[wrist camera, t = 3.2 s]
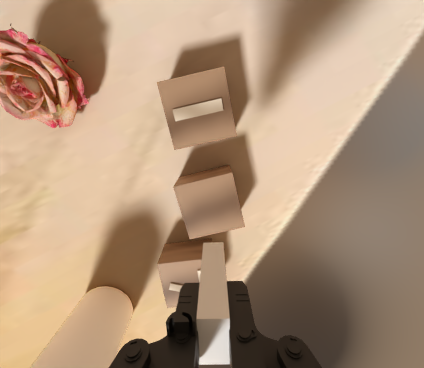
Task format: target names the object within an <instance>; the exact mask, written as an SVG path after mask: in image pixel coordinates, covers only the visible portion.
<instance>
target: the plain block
mask: <svg viewBox="0 0 424 368" xmlns="http://www.w3.org/2000/svg"><path fill="white" fill-rule="evenodd" d="M173 188H174V191H175V194H176V197H177V200H178V203H179V207H180V210H181V213H182V216H183V219H184V223H185V226H186V229H187V232H188V235H189V239H194V238H199V237H203V236H207V235H212V234H216V233H220V232H225V231H229V230H233V229H238V228H242V227H245V225H244V220H243V216H242V212H241V207H240V203H239V199H238V195H237V190H236V186H235V182H234V177H233V173H232V171H231V168H230V166H229V165H226V166H222V167H218V168H214V169H210V170H206V171H202V172H198V173H194V174H190V175H186V176H182V177H179V179H178V180H177V182H176V184H175V185H174V187H173Z"/></svg>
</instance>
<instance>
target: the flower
mask: <svg viewBox="0 0 424 368" xmlns="http://www.w3.org/2000/svg"><path fill="white" fill-rule="evenodd" d="M10 26H11V24H10ZM11 28H12V27H11ZM12 29H13V28H12ZM12 29H9V30H7V31H0V104H1V105H2V107H3V108H4V109H5V110H6V111H7V112H8V113H10V114H11V115H13V116H14V117H16V118H18V119H21V120H28V119H37V120H39V121H41V122H43V123H45V124H47V125H48V126H50V127H52V128H55V127H57V125H59V127H66V126H70V125H71V124H72V122H73V120H74V117H75V115H76V111H77V110H78V108H80V109H81V106H82V105H86V104H88V103H89V102H88V100H89V99H86V96H85V95H84V94H83V93H84V85H83V81H82V79H81V76H80V75H79V74H78V73H76V72H75V71H74V70H72V69H71V68H70V67H68V66H67V62H68V61H72V60H70V59H64V58H62V57H60V55H58V54H57V55H56V54H55V53H54V52H52V51H51V50H49V49H48V48H46V47H45V46H43V45H40V44H39V43H40V41H39V43H38V44H37V43H36V42H35V40H34V39H29V38H28V36H27V35H26V34H24V33H23V32H17V31H16V30H14V29H13V30H12ZM14 31H15V32H17V33H18V36H17V34H16V33H15V32H14ZM73 62H74V61H73ZM76 103H77V104H76Z"/></svg>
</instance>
